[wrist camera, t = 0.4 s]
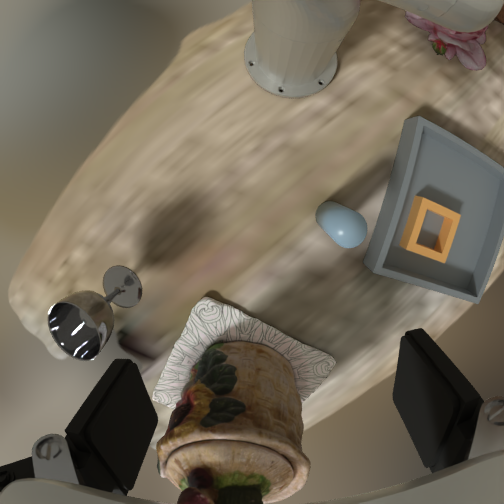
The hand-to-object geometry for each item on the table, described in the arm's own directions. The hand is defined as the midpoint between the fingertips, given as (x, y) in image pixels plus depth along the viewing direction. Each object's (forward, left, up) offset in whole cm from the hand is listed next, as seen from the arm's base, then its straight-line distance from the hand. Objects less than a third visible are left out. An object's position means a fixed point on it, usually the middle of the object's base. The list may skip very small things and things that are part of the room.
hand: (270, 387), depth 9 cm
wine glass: (+16, -19, -33) cm, 41 cm away
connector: (-3, +8, -33) cm, 34 cm away
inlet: (-6, +23, -33) cm, 40 cm away
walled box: (-9, +26, -33) cm, 43 cm away
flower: (-39, +19, -33) cm, 55 cm away
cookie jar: (+27, +3, -33) cm, 42 cm away
